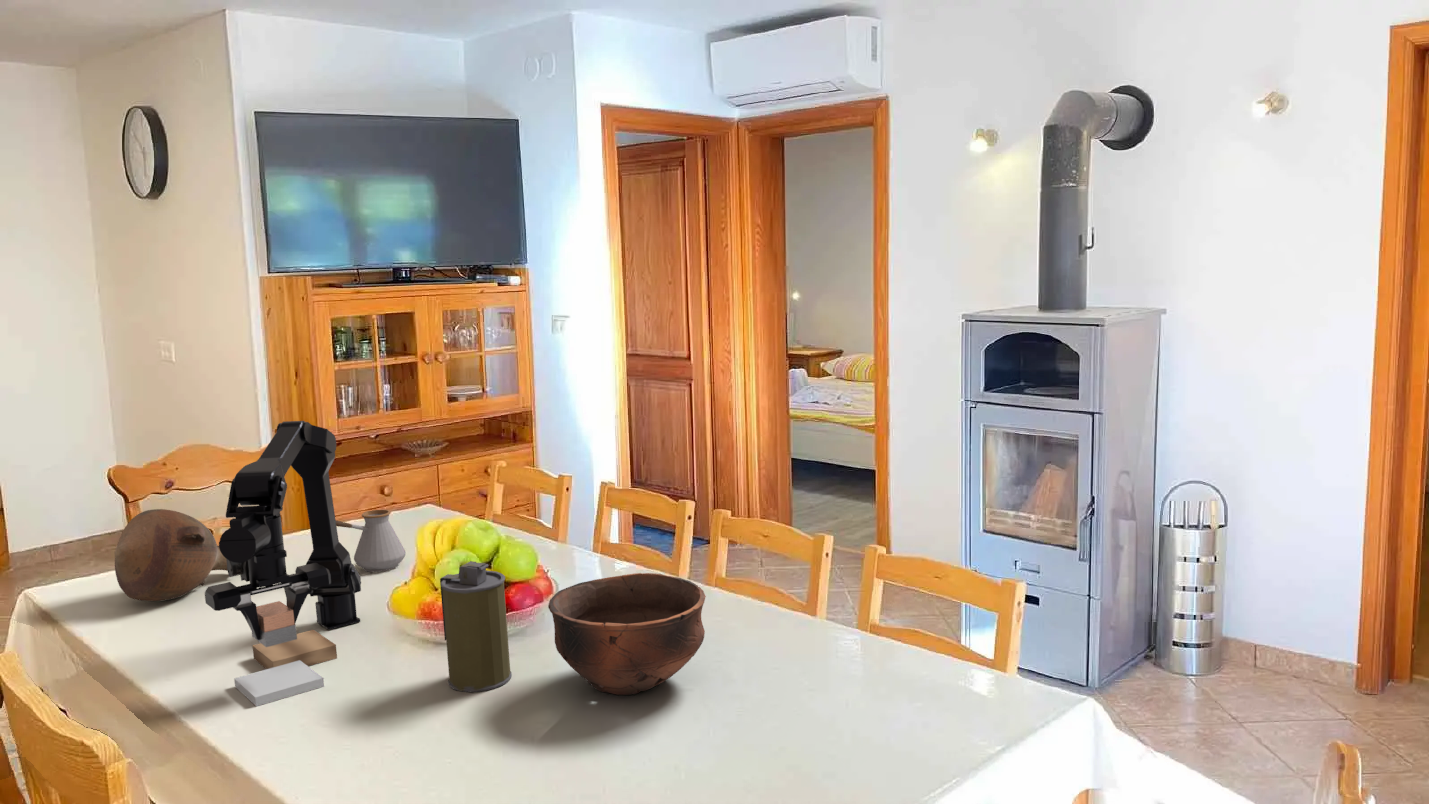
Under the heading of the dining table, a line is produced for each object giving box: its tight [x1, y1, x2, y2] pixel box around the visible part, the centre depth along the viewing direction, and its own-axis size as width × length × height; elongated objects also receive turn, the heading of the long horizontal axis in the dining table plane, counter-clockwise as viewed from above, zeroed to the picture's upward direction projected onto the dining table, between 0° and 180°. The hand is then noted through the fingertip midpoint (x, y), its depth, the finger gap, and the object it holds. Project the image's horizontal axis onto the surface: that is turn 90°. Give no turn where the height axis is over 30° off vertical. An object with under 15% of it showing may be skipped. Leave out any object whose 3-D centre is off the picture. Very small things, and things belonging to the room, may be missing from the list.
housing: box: [251, 600, 298, 647], centre depth 179 cm, size 7×5×5 cm
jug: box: [114, 508, 228, 602], centre depth 233 cm, size 20×20×30 cm
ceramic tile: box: [233, 660, 325, 707], centre depth 180 cm, size 11×11×2 cm
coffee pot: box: [335, 509, 407, 573], centre depth 243 cm, size 21×12×15 cm, turn 146°
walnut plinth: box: [251, 629, 338, 670], centre depth 193 cm, size 11×11×2 cm
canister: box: [439, 560, 513, 693], centre depth 179 cm, size 11×10×20 cm
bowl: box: [547, 572, 707, 696], centre depth 175 cm, size 25×25×15 cm
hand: (274, 635), depth 179 cm, fingers closed on housing, 5 cm apart
